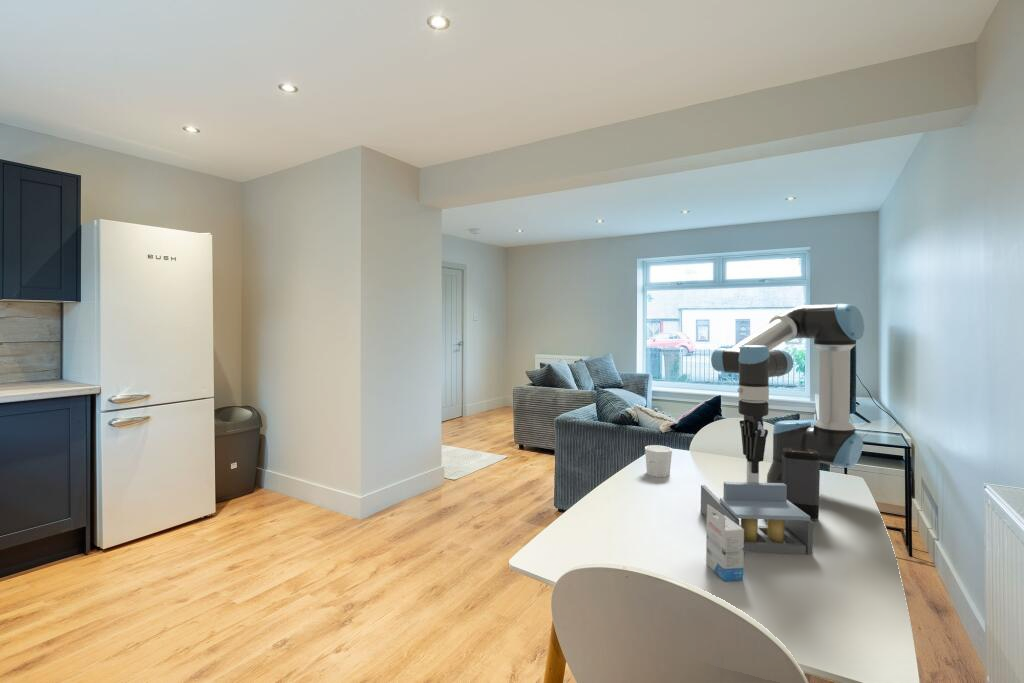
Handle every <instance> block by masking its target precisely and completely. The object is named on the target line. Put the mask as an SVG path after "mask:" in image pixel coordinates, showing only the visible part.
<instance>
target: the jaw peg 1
mask: <svg viewBox="0 0 1024 683" xmlns="http://www.w3.org/2000/svg"><path fill="white" fill-rule="evenodd" d="M758 522H759V519H742V518H740V525H741V528H743V529H744V541H745V542H758V540H757V533H758V526H759V524H758Z"/></svg>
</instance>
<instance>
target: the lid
mask: <svg viewBox="0 0 1024 683" xmlns="http://www.w3.org/2000/svg"><path fill="white" fill-rule="evenodd" d="M719 500H720V502H721V503H722V504H723V505H724V506H725V507H726V508H727V509H728V510H729V511H730V512H731V513H732V514H733V515H734V516H735V517H736V518H738V519H741V518H742V519H758V520H768V519H775V520H808V521H810V516H809V515H807V514H806V513H805V512H803V511H802V510H800V509H799V508H798V507H796V506H795V505H794V504H792V503H791V502H789V501H788V500H787V485H785V484H784V483H768V482H759V483H753V482H747V481H746V482H744V481H723V497H719Z"/></svg>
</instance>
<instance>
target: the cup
mask: <svg viewBox="0 0 1024 683" xmlns="http://www.w3.org/2000/svg"><path fill="white" fill-rule="evenodd" d="M644 452H645V463H646V464H645V467H646V473H647V474H648V475H649V476H653V477H655V478H659V477H660V478H666V477H668V476H670V475H671V466H672V465H671V463H672V456H673V455H672V454H673V448H671V447H669V446H665V445H660V444H658V445H657V444H656V445H655V444H652V445H651V444H650V445H646V446H645V447H644Z"/></svg>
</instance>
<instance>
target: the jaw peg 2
mask: <svg viewBox="0 0 1024 683" xmlns="http://www.w3.org/2000/svg"><path fill="white" fill-rule="evenodd" d="M766 522H767V525H766V526H767V535H766V536H767V537H768V538H769V539H770V540H771V541H772V542H773V543H785V541H784V533H785V520H775V519H767V521H766Z"/></svg>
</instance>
